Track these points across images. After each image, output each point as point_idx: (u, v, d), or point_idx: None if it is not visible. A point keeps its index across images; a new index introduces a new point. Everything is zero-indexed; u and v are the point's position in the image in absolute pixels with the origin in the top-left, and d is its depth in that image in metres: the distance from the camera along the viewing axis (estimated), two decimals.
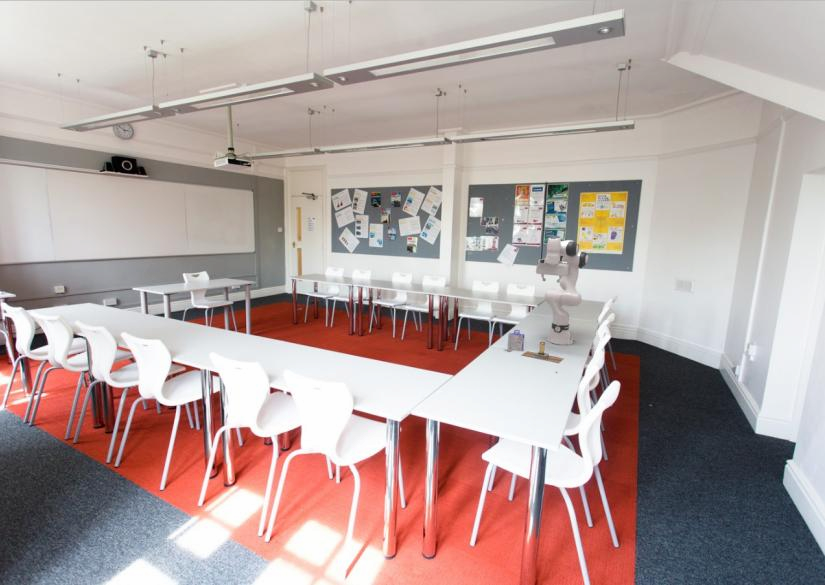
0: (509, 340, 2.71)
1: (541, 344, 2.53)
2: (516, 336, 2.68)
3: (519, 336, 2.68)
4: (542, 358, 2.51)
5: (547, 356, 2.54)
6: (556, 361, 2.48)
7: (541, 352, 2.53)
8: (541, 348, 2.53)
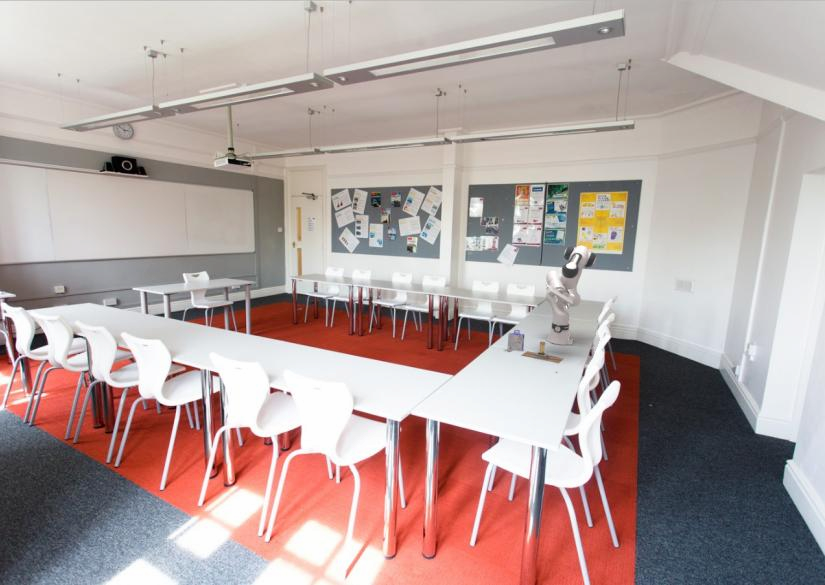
0: (509, 340, 2.71)
1: (541, 344, 2.53)
2: (516, 336, 2.68)
3: (519, 336, 2.68)
4: (542, 358, 2.51)
5: (547, 356, 2.54)
6: (556, 361, 2.48)
7: (541, 352, 2.53)
8: (541, 348, 2.53)
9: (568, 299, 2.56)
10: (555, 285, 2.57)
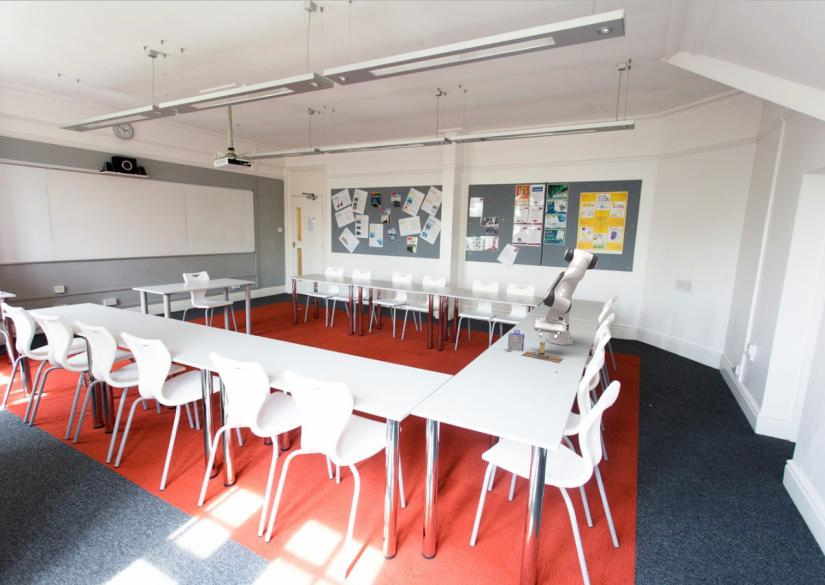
0: (509, 340, 2.71)
1: (541, 344, 2.53)
2: (516, 336, 2.68)
3: (519, 336, 2.68)
4: (542, 358, 2.51)
5: (547, 356, 2.54)
6: (556, 361, 2.48)
7: (541, 352, 2.53)
8: (541, 348, 2.53)
9: (559, 327, 2.58)
10: None
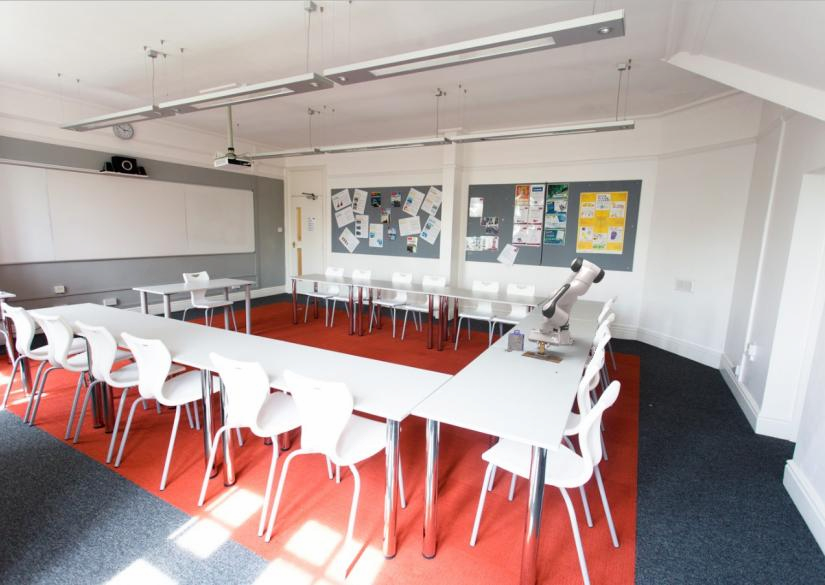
0: (509, 340, 2.71)
1: (541, 344, 2.52)
2: (516, 336, 2.68)
3: (519, 336, 2.68)
4: (542, 358, 2.51)
5: (547, 356, 2.54)
6: (556, 361, 2.48)
7: (541, 352, 2.53)
8: (541, 348, 2.53)
9: (553, 339, 2.53)
10: (540, 328, 2.61)
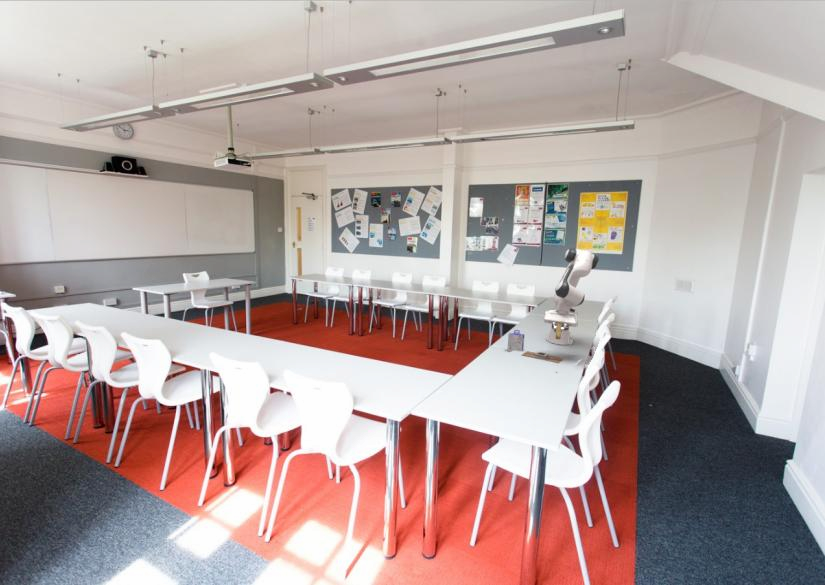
0: (509, 340, 2.71)
1: (558, 325, 2.47)
2: (516, 336, 2.68)
3: (519, 336, 2.68)
4: (542, 358, 2.51)
5: (547, 356, 2.54)
6: (556, 361, 2.48)
7: (558, 333, 2.48)
8: (558, 329, 2.47)
9: (570, 319, 2.47)
10: (556, 308, 2.55)
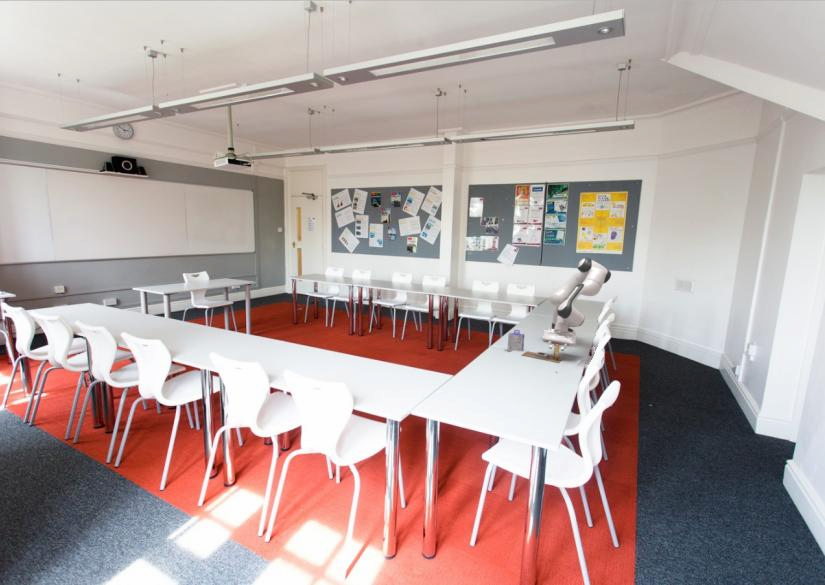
0: (509, 340, 2.71)
1: (556, 346, 2.49)
2: (516, 336, 2.68)
3: (519, 336, 2.68)
4: (542, 358, 2.51)
5: (547, 356, 2.54)
6: (556, 361, 2.48)
7: (556, 354, 2.50)
8: (556, 350, 2.50)
9: (568, 339, 2.49)
10: (554, 328, 2.57)
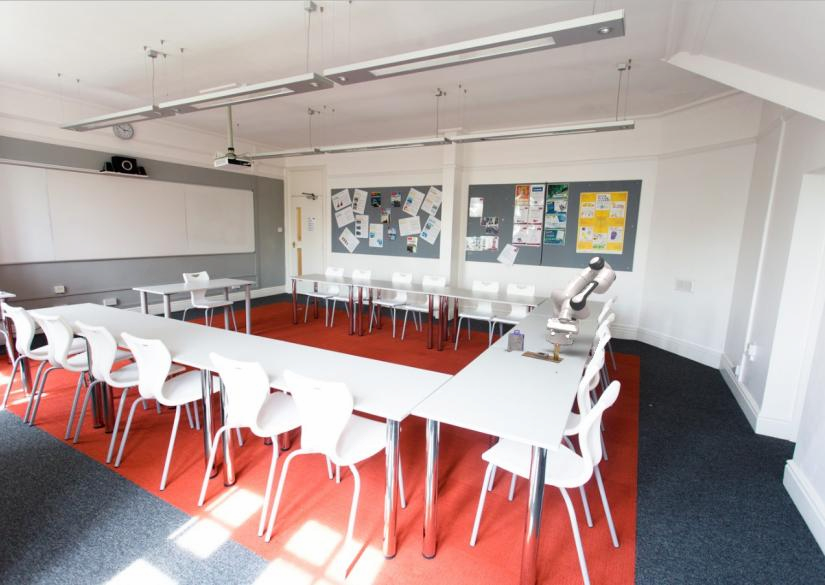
0: (509, 340, 2.71)
1: (556, 346, 2.49)
2: (516, 336, 2.68)
3: (519, 336, 2.68)
4: (542, 358, 2.51)
5: (547, 356, 2.54)
6: (556, 361, 2.48)
7: (556, 354, 2.50)
8: (556, 350, 2.49)
9: (572, 328, 2.60)
10: (558, 317, 2.68)
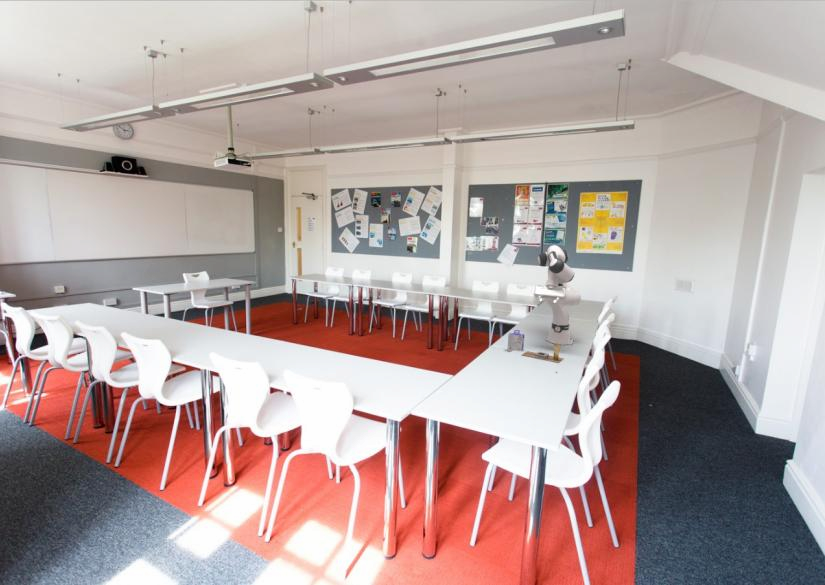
0: (509, 340, 2.71)
1: (556, 346, 2.49)
2: (516, 336, 2.68)
3: (519, 336, 2.67)
4: (542, 358, 2.51)
5: (547, 356, 2.54)
6: (556, 361, 2.48)
7: (556, 354, 2.50)
8: (556, 350, 2.49)
9: (559, 293, 2.64)
10: (546, 284, 2.73)
